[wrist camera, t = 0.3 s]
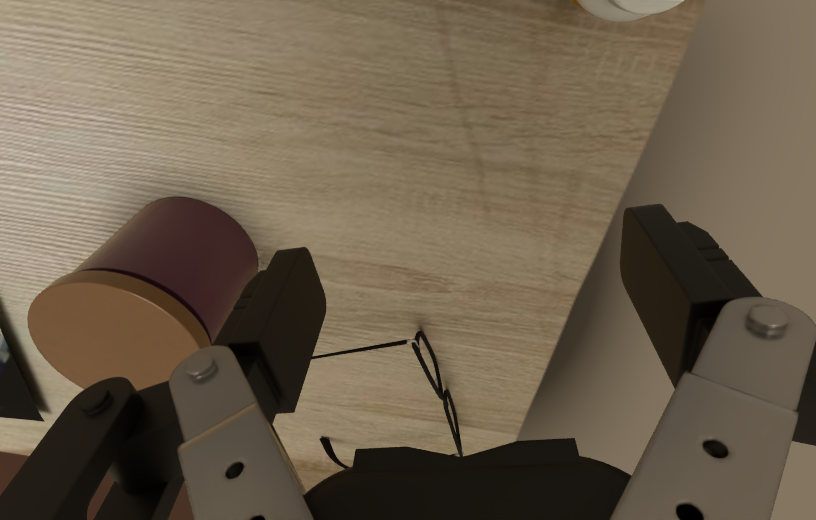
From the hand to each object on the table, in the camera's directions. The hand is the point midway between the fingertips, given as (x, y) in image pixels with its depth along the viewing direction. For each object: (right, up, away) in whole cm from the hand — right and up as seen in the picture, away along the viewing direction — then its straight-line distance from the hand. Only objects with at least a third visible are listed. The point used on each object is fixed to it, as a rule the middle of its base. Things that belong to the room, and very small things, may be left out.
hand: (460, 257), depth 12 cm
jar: (-18, +1, +26) cm, 31 cm away
